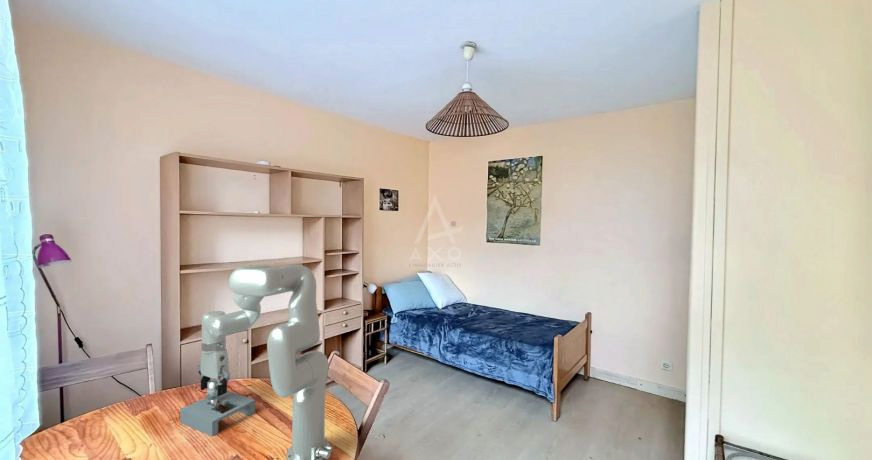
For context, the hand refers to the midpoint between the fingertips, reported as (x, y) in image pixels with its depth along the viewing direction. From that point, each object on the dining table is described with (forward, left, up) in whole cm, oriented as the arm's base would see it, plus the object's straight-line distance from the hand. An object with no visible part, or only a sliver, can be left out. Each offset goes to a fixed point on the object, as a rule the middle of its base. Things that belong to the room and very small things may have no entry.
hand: (213, 391), depth 128 cm
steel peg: (0, 0, -9) cm, 9 cm away
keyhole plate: (-3, 0, -9) cm, 10 cm away
